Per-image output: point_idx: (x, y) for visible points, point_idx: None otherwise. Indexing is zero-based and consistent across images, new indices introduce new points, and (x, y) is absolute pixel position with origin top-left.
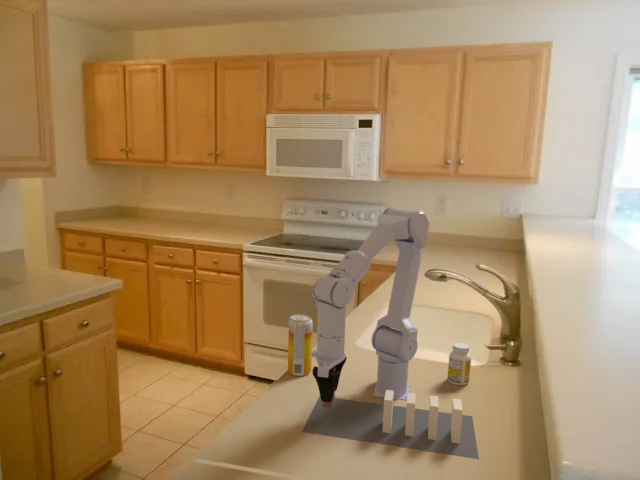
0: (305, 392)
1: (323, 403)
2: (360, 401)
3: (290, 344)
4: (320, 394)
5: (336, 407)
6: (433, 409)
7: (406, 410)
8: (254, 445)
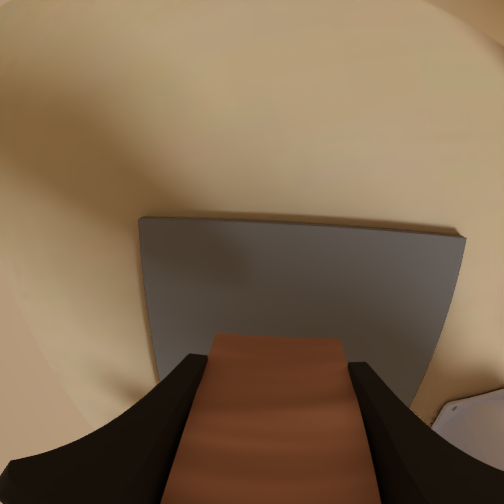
0: (491, 167)
1: (212, 348)
2: (416, 386)
3: None
4: (165, 378)
5: (374, 325)
6: None
7: None
8: (48, 83)
